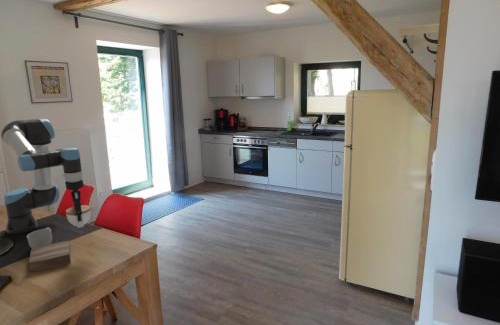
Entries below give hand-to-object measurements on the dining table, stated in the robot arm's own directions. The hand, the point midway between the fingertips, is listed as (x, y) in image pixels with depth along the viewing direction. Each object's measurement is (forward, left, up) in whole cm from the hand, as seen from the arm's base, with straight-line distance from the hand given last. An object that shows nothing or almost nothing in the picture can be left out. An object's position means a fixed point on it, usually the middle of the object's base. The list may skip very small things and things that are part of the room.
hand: (79, 222), depth 159 cm
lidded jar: (0, 0, -1) cm, 1 cm away
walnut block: (+1, -14, -16) cm, 21 cm away
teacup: (-18, -18, -16) cm, 30 cm away
